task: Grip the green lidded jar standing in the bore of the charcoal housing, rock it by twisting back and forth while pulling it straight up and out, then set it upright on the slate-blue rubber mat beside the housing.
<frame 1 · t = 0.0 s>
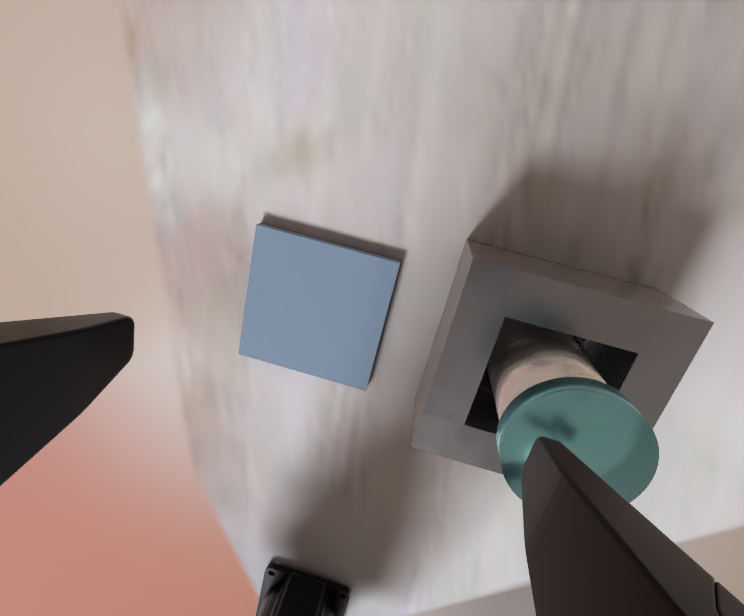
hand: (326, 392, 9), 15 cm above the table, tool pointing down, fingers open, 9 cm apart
housing: (526, 349, 23), on the table
mat: (316, 308, 24), on the table
green lidded jar: (546, 392, 19), in the housing
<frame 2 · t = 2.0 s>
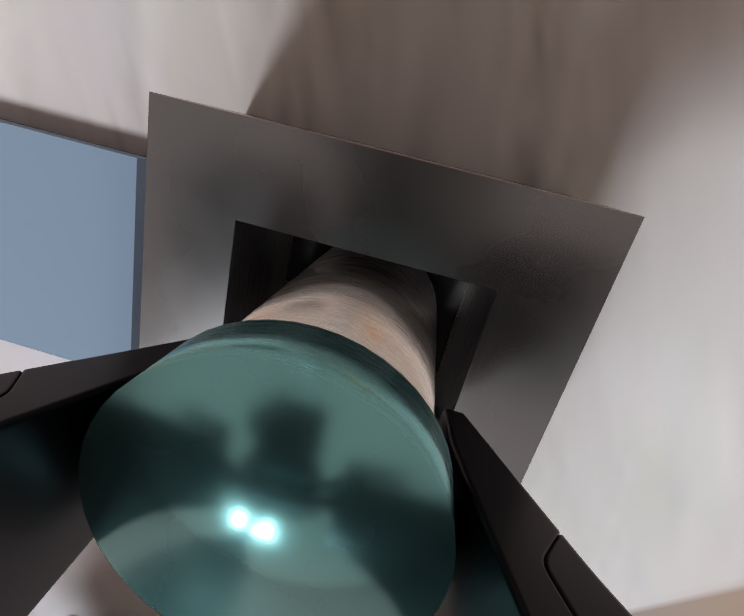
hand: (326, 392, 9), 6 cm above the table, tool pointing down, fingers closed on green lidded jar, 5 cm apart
housing: (367, 308, 14), on the table
mat: (41, 245, 15), on the table
green lidded jar: (336, 371, 10), in the housing, touching gripper
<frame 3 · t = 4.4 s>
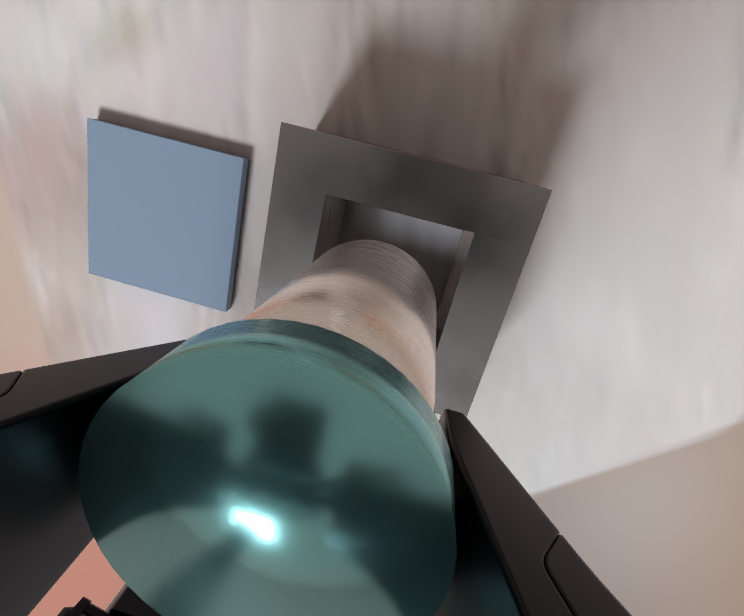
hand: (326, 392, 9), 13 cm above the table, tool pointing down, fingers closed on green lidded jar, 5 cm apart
housing: (392, 259, 21), on the table
mat: (167, 218, 22), on the table
green lidded jar: (336, 371, 10), point 12 cm above the table, touching gripper
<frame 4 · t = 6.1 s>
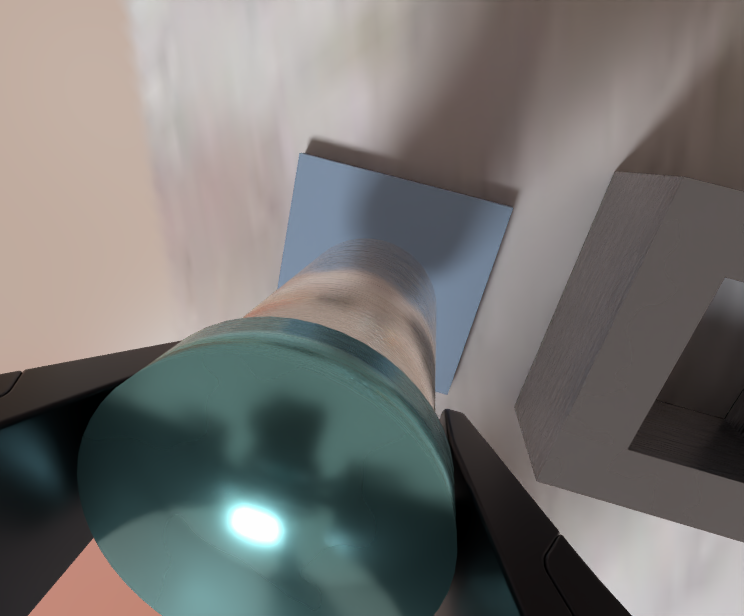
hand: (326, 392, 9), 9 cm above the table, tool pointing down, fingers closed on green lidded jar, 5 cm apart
housing: (687, 336, 16), on the table
mat: (380, 278, 17), on the table
green lidded jar: (336, 370, 10), point 8 cm above the table, touching gripper
when the fingers open (7 cm above the table, at t = 7.3 s): green lidded jar drops 1 cm, resting on mat.
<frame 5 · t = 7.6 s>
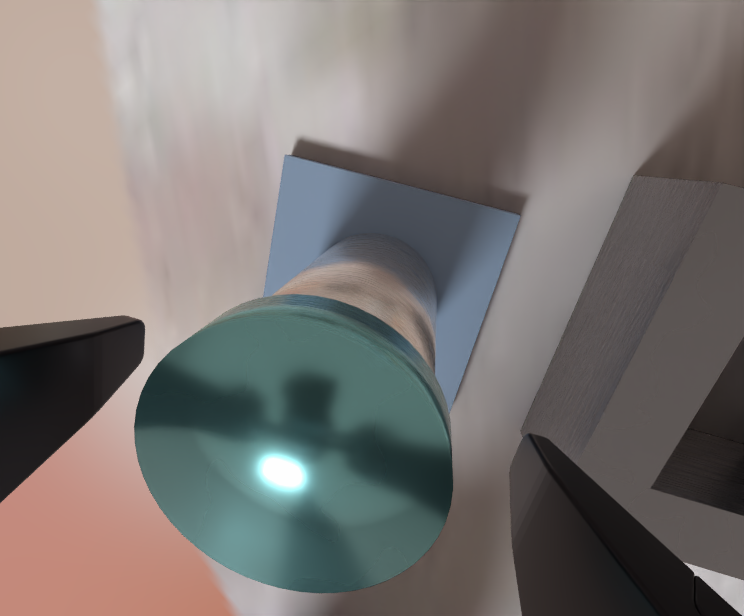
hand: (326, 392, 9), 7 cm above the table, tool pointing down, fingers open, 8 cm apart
housing: (712, 356, 15), on the table
mat: (374, 291, 16), on the table
green lidded jar: (346, 350, 11), on the mat, point 5 cm above the table
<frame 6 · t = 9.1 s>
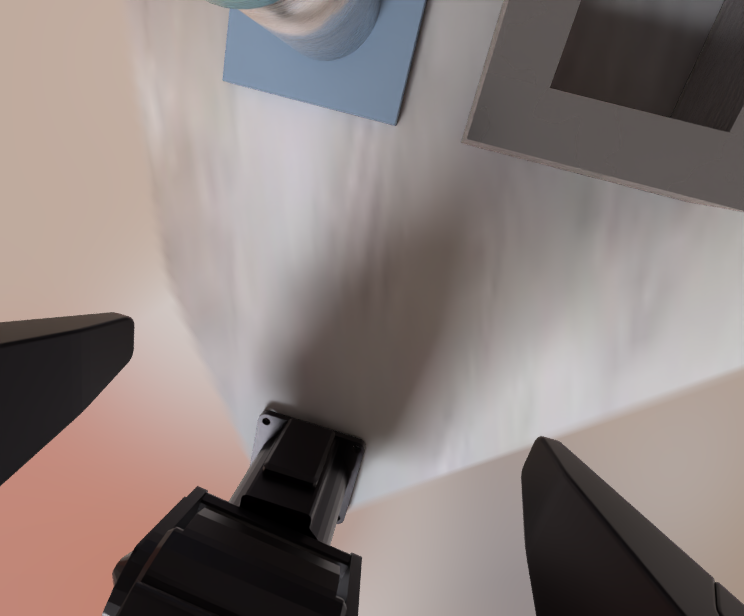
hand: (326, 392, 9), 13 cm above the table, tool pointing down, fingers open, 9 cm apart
housing: (623, 43, 17), on the table
mat: (329, 1, 18), on the table
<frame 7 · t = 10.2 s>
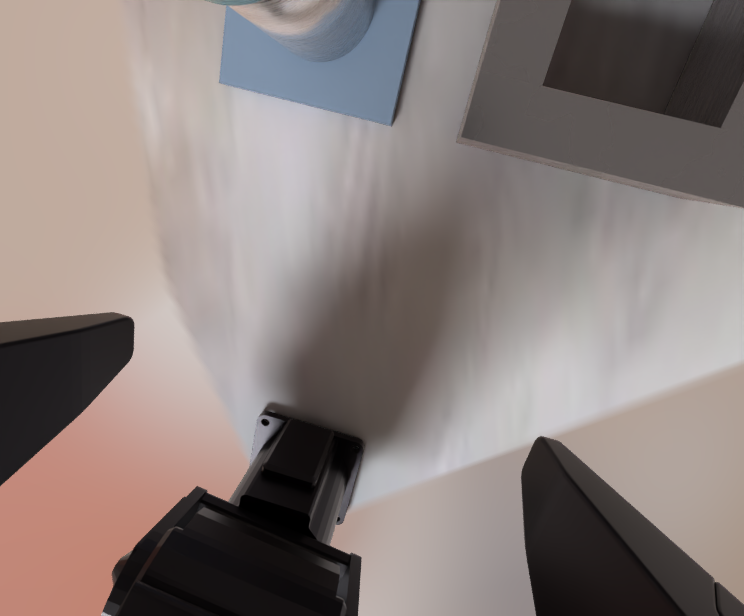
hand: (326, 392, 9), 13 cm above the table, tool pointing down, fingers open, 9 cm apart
housing: (615, 42, 17), on the table
mat: (324, 4, 18), on the table
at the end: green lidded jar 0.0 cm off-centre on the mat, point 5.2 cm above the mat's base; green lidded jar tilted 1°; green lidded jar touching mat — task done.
